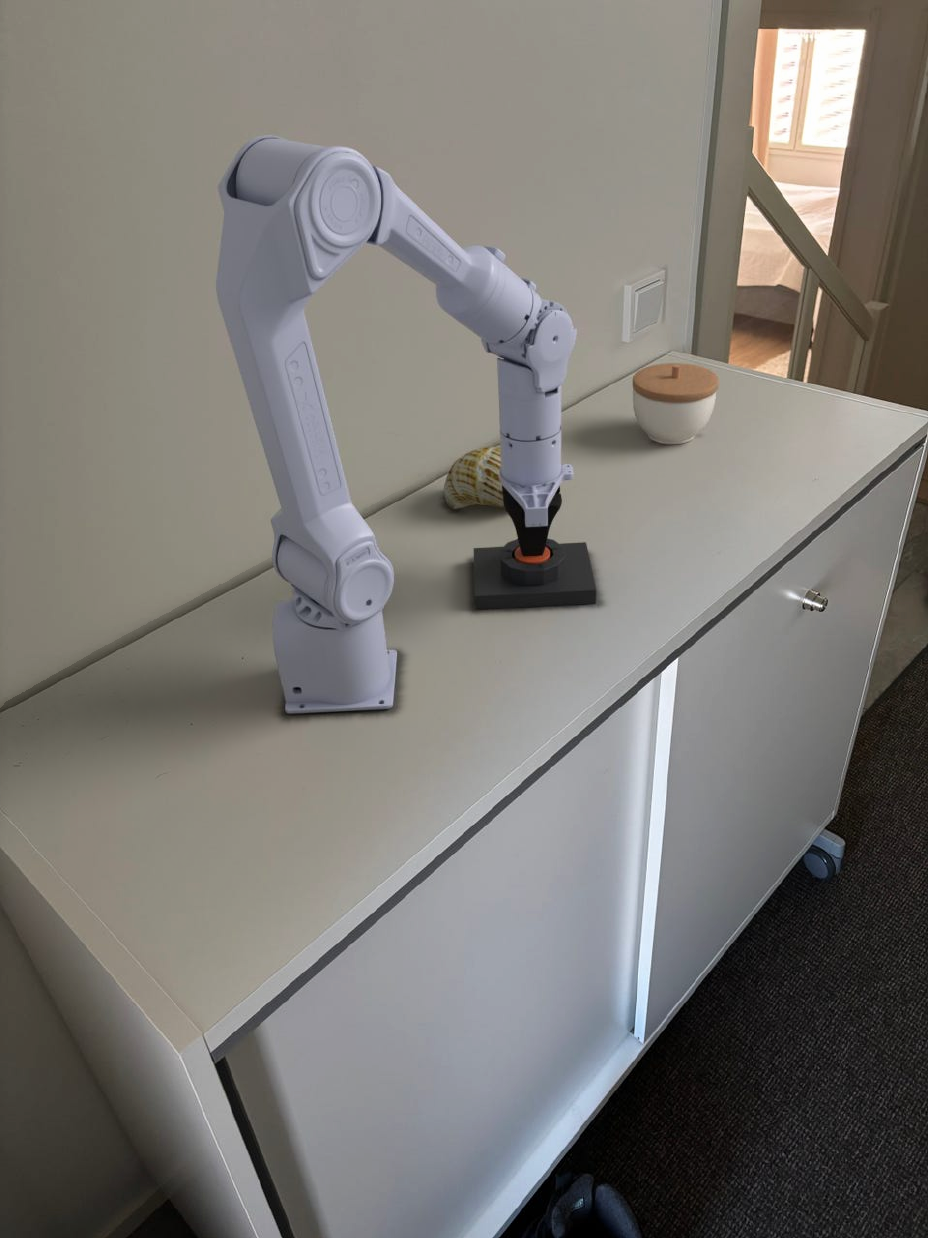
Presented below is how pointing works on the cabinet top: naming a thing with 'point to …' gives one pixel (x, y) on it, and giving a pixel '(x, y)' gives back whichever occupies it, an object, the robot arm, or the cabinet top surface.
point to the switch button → (532, 557)
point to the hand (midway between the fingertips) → (532, 552)
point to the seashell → (475, 479)
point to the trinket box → (674, 401)
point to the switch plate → (533, 577)
